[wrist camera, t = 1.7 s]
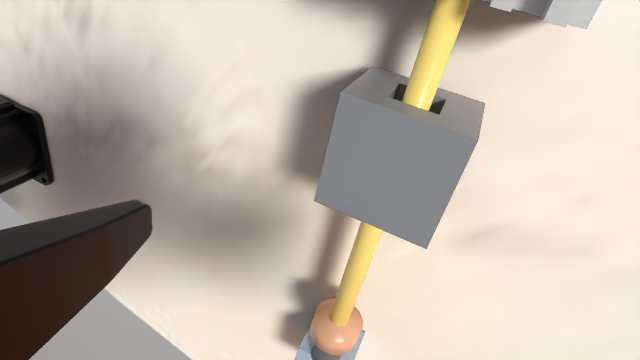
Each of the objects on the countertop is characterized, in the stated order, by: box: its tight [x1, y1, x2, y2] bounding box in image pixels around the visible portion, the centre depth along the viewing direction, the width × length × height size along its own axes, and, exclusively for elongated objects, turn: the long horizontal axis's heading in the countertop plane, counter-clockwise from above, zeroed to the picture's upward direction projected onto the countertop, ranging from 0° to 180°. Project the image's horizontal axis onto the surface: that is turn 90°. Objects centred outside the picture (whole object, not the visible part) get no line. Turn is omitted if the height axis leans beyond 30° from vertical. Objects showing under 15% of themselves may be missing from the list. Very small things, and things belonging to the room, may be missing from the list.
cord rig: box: [295, 0, 602, 360], centre depth 20 cm, size 28×8×5 cm, turn 168°
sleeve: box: [314, 66, 485, 249], centre depth 17 cm, size 5×5×4 cm
